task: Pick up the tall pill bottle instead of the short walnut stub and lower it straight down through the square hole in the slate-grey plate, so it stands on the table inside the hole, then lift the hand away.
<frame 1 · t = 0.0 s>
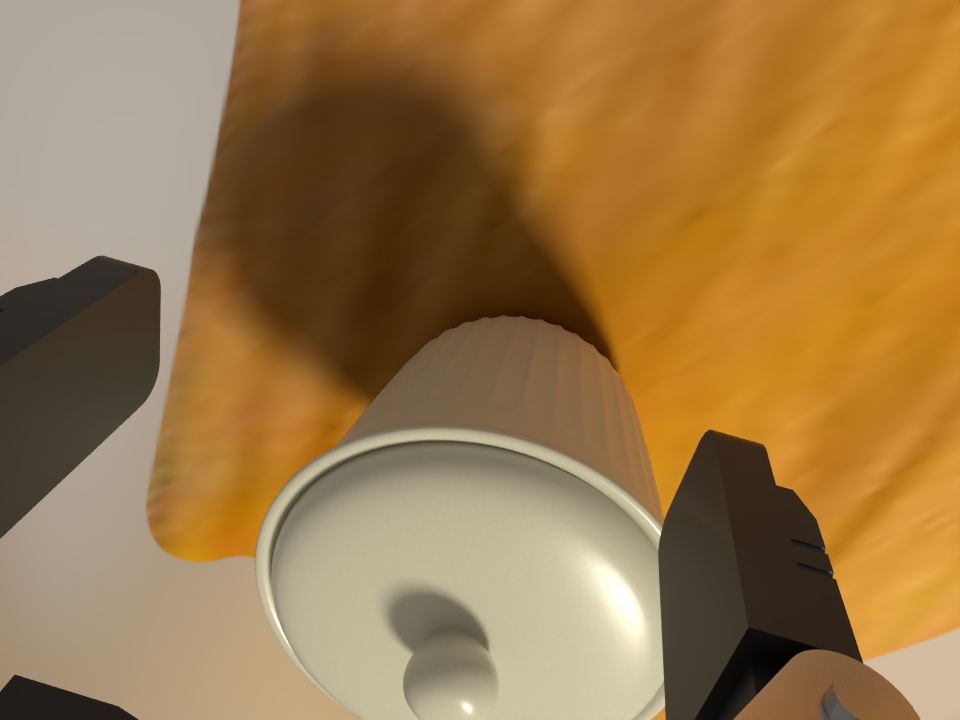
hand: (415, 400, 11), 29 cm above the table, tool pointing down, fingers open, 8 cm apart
canister: (518, 403, 46), on the table
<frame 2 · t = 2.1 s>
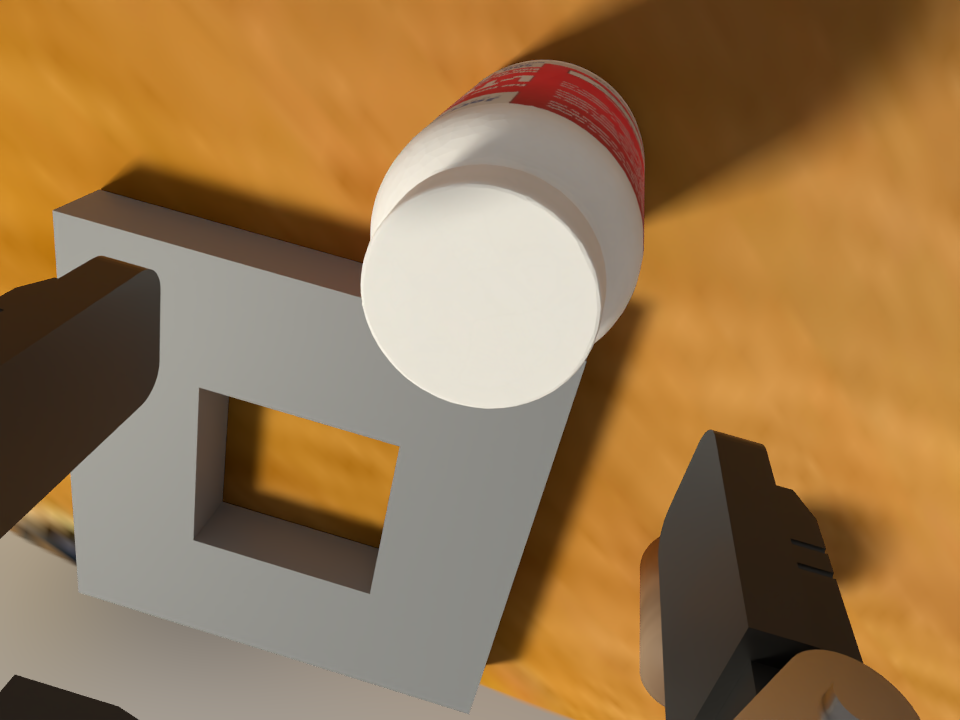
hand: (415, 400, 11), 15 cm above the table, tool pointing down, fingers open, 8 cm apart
walnut stub: (698, 571, 30), on the table
pill bottle: (544, 160, 24), on the table
hole plate: (313, 458, 31), on the table
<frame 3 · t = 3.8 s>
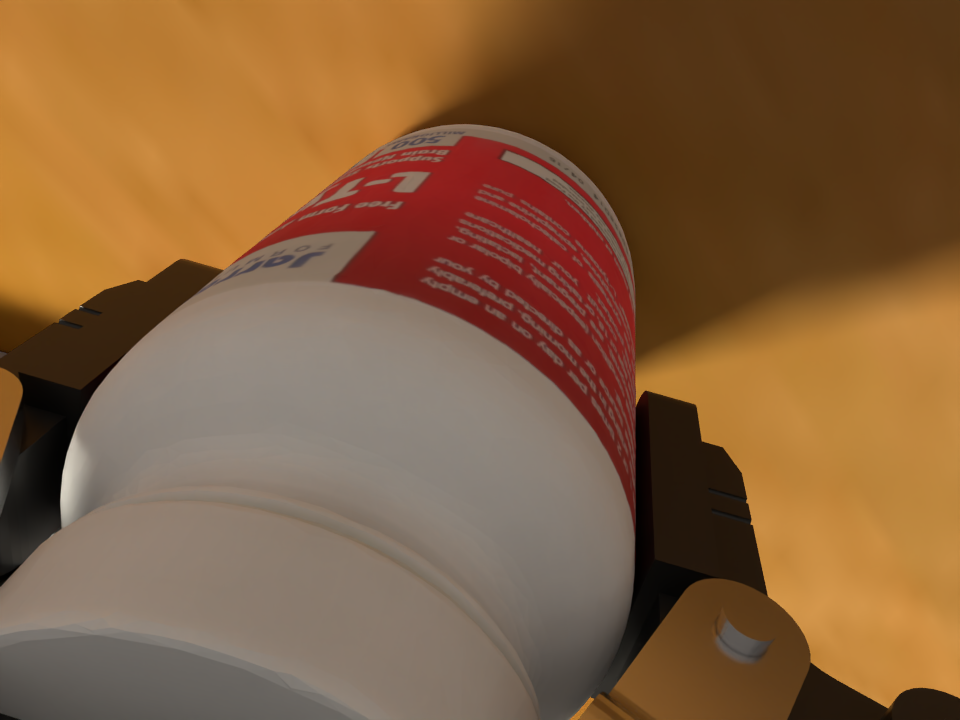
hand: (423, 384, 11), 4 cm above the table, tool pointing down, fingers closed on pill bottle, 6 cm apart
pill bottle: (476, 275, 15), on the table, touching gripper
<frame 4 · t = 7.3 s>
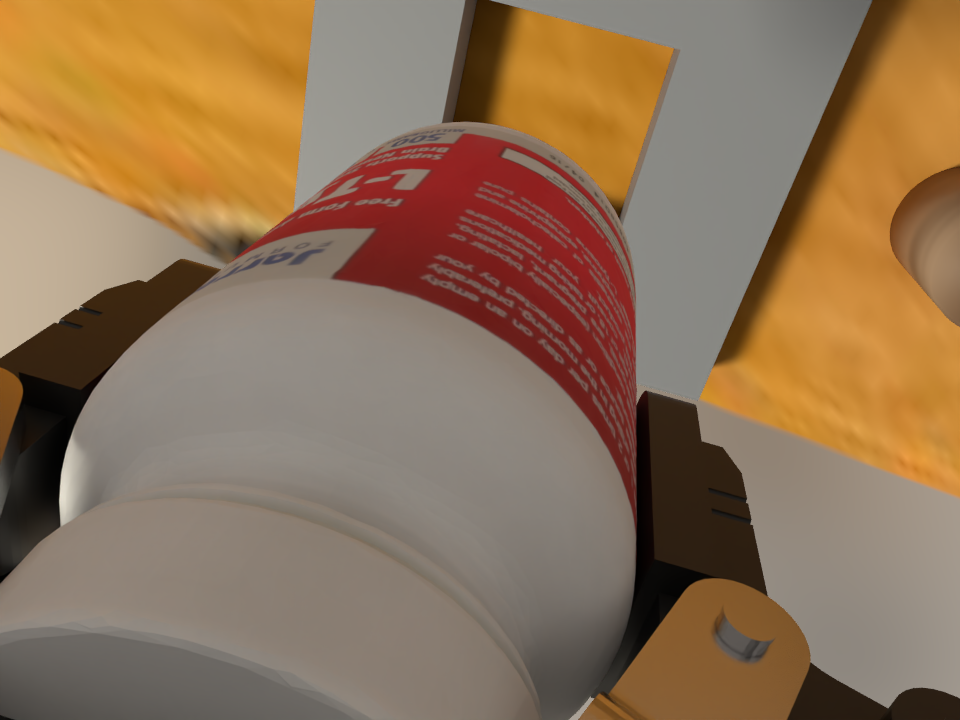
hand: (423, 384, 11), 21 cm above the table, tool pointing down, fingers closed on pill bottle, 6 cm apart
walnut stub: (954, 225, 30), on the table
pill bottle: (476, 273, 15), point 17 cm above the table, touching gripper
hole plate: (550, 117, 30), on the table
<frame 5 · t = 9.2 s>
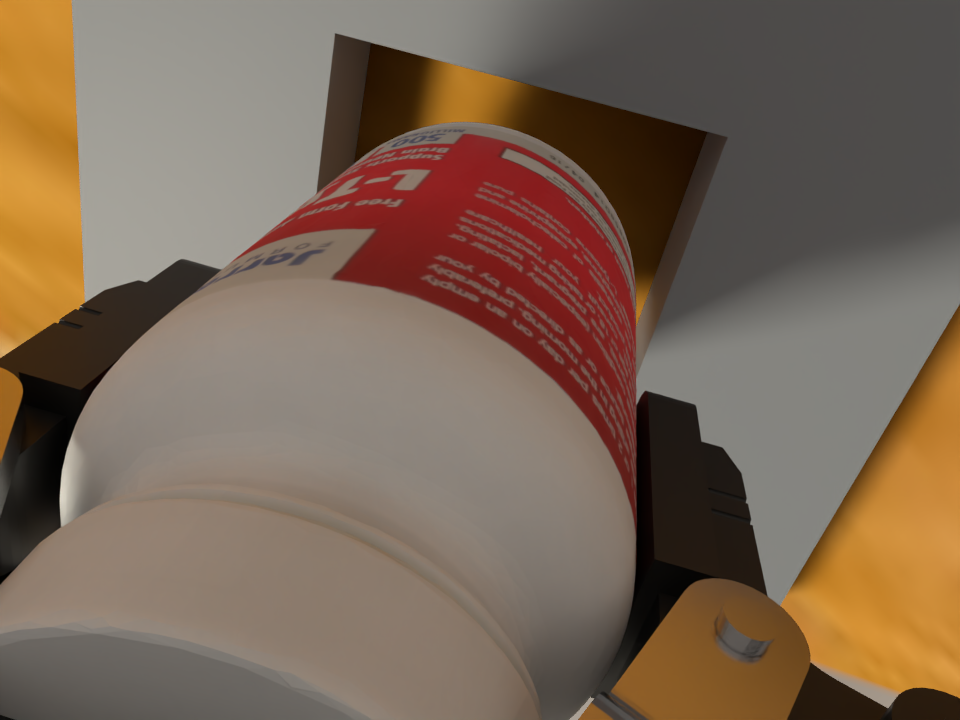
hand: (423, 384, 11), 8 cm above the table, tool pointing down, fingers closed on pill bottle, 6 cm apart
pill bottle: (476, 274, 15), point 3 cm above the table, touching gripper
hole plate: (502, 229, 18), on the table
when the fingers open (5 cm above the table, at t = 10.6 s): pill bottle stays where it is, resting in hole plate.
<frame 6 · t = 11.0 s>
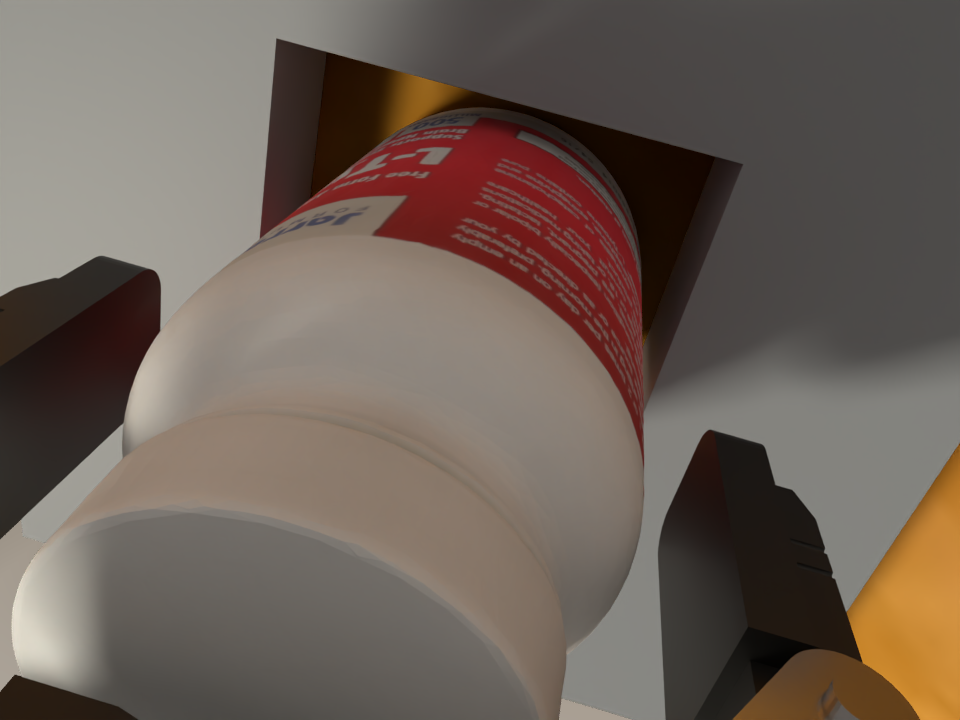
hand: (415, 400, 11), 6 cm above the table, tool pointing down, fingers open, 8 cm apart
pill bottle: (489, 253, 16), resting in hole plate
hole plate: (480, 262, 16), on the table
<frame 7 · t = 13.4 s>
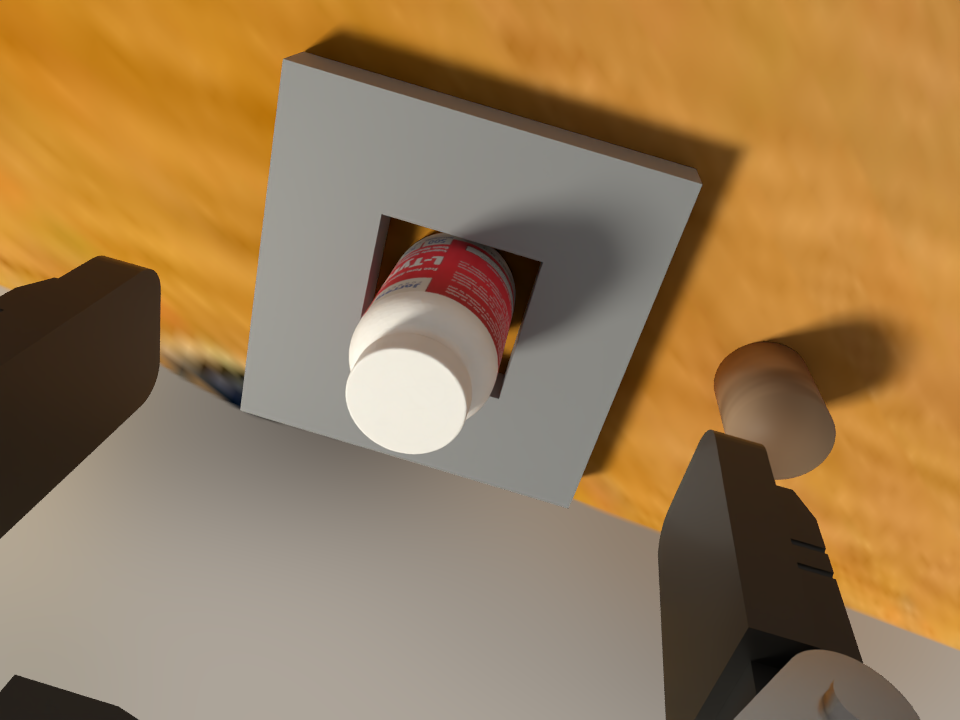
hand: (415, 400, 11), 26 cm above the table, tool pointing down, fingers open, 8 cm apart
walnut stub: (760, 382, 38), on the table
pill bottle: (455, 286, 38), resting in hole plate
hole plate: (452, 290, 38), on the table
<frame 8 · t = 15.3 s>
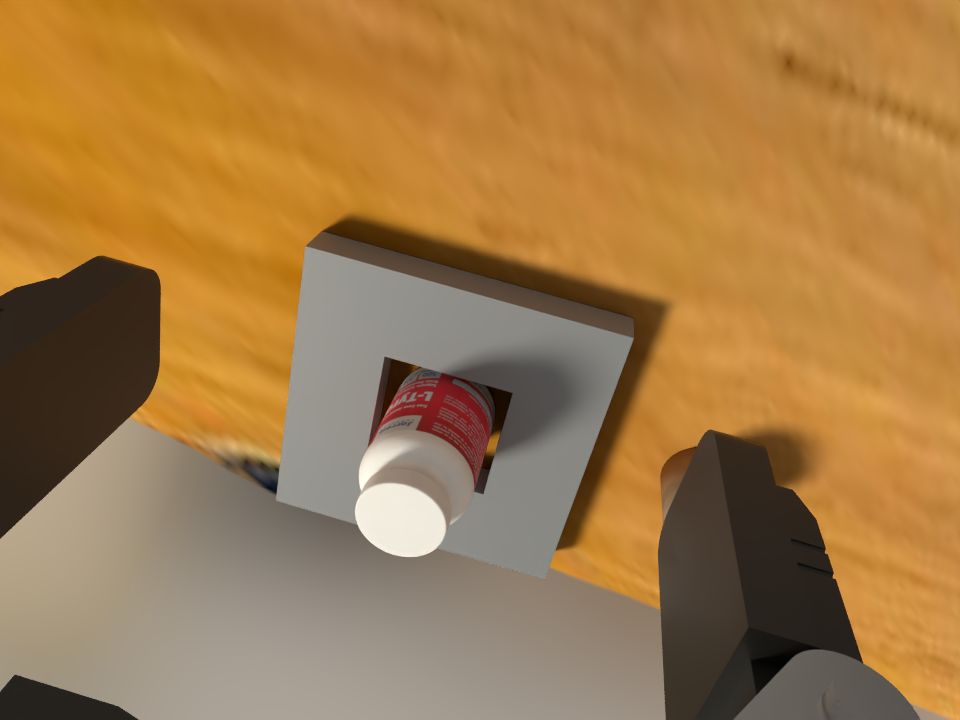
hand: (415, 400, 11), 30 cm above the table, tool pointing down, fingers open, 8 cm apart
walnut stub: (698, 478, 47), on the table
pill bottle: (447, 402, 47), resting in hole plate
hole plate: (444, 405, 47), on the table
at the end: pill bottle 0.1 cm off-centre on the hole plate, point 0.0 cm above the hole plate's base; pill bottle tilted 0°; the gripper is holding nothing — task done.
